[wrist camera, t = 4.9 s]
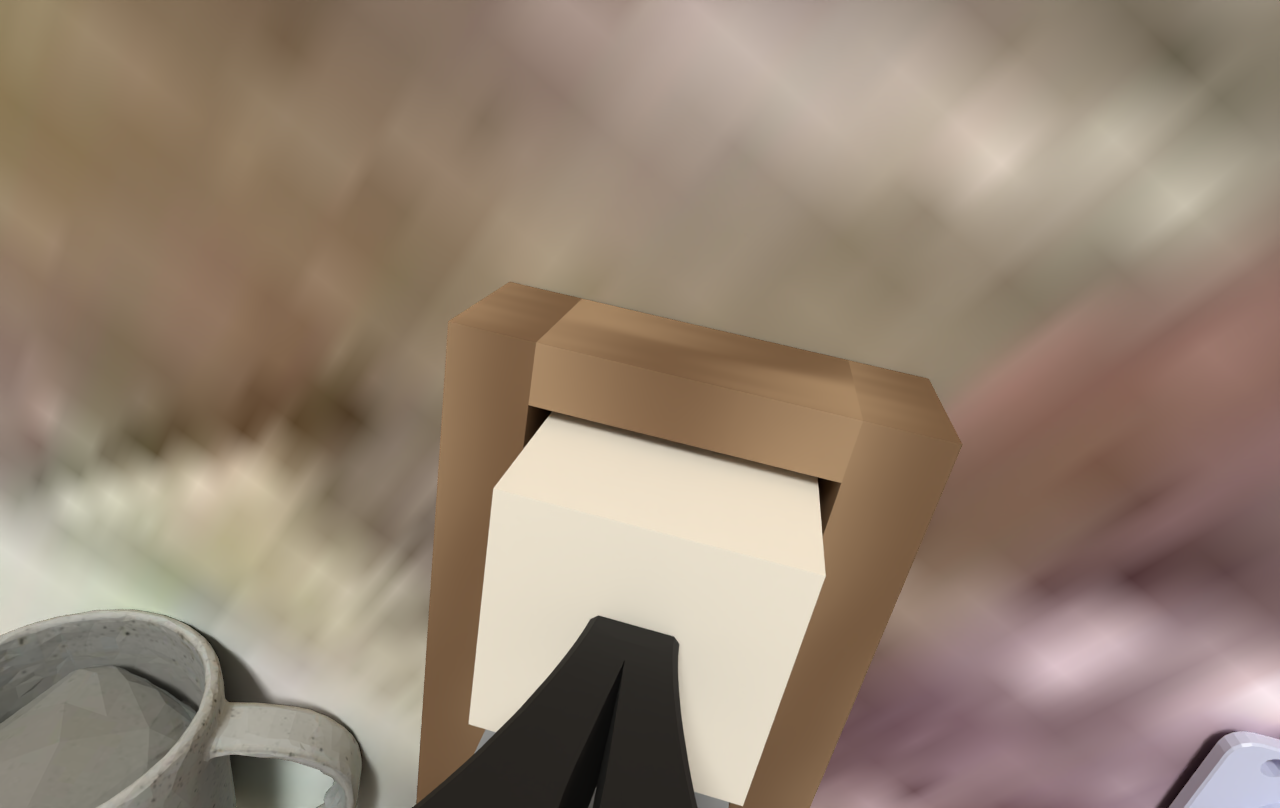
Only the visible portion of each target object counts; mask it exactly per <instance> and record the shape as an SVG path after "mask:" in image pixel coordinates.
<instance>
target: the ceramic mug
mask: <svg viewBox="0 0 1280 808" xmlns="http://www.w3.org/2000/svg"><path fill="white" fill-rule="evenodd" d="M230 755H244V756H253V757H261V758H277V759H282V760H288V761H293V762H297V763H300V764H303V765H306V766H309V767H313V768H316V769H319V770H320V771H321V772H322V773H323V774H326V775H328V776H330V777H332V778H333V780H334V782H333V785H332V787H331V788H330V789H329V790H328V791H327V792H326V794H325V797H324V802H325V803H324V804H322V805H320V806H318V807H316V808H356V805H357V800H358V793H359V783H360V776H361V770H362V759H361V754H360V749H359V745H358V743H357V742H356V740H355V738H354V737H353V735H352V734H351V733H349V732H348V730H347V729H346V728H345V727H343V726H342V725H340V724H339V723H337V722H336V721H334V720H333V719H331V718H329V717H328V716H325V715H323V714H320V713H318V712H315V711H313V710H311V709H306V708H301V707H295V706H287V705H277V704H267V703H245V702H228V701H227V700H226V699H225V694H224V681H223V676H222V672H221V667H220V663H219V659H218V657H217V655H216V653H215V652H214V650H213V648H212V646H211V645H210V643H209V642H208V641H207V640H206V639H205V638H204V637H203V636H202V635H201V634H199V633H198V632H197V631H196V630H194V629H193V628H191V627H190V626H188V625H186V624H184V623H182V622H180V621H178V620H175V619H173V618H170V617H168V616H165V615H160V614H155V613H150V612H145V611H139V610H94V611H88V612H83V613H77V614H71V615H65V616H59V617H55V618H51V619H47V620H43V621H39V622H36V623H33V624H30V625H27V626H24V627H21V628H18V629H16V630H13V631H10V632H8V633H5V634H3V635H1V636H0V808H236V799H235V790H234V783H233V776H232V770H231V763H230Z"/></svg>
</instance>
